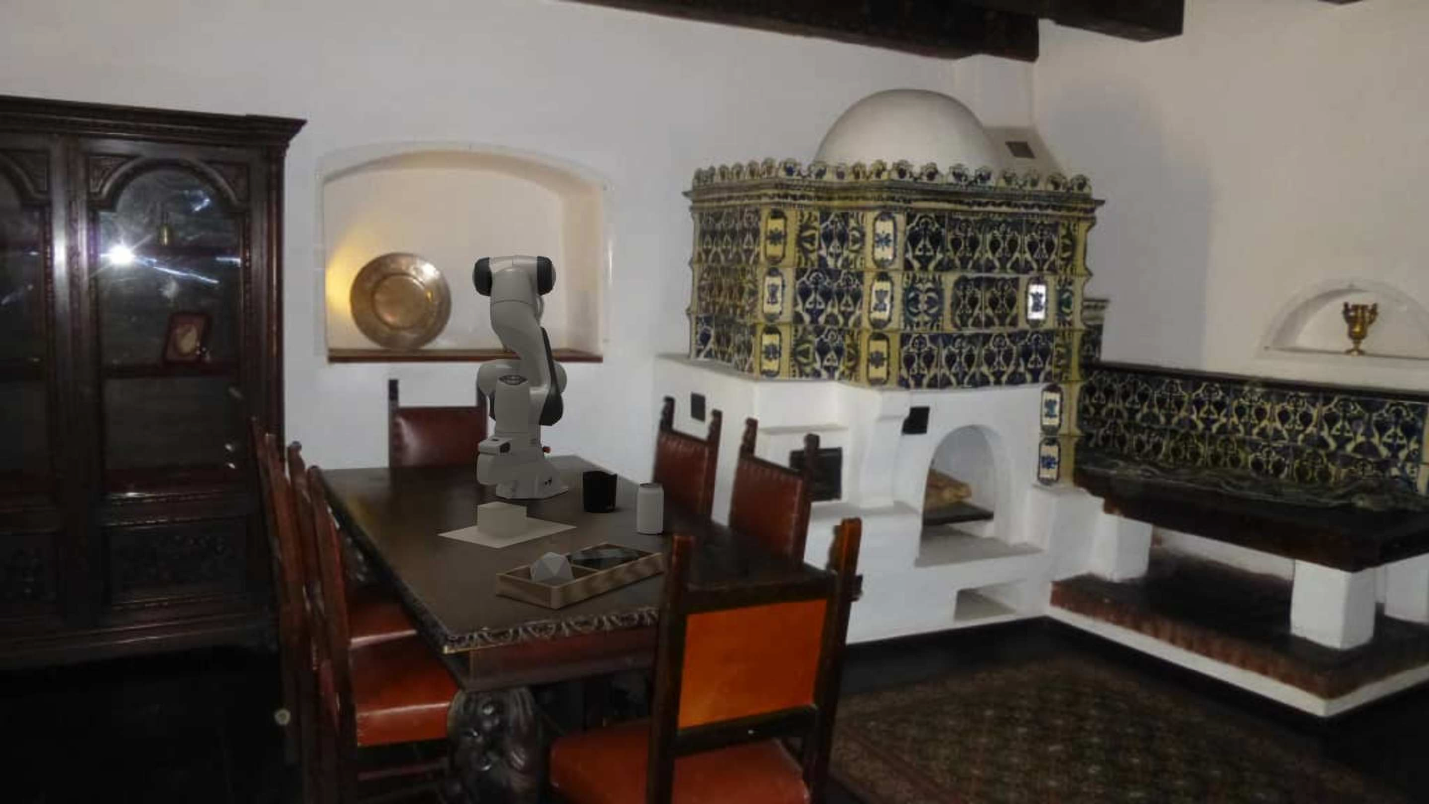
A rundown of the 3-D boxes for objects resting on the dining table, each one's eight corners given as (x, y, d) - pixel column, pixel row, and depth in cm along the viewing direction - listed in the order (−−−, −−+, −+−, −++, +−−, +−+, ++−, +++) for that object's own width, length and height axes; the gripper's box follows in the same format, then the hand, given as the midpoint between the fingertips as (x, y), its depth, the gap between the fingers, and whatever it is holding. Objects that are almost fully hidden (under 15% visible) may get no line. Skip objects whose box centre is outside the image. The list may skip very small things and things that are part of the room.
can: (666, 530, 271) (667, 483, 270) (656, 536, 265) (658, 488, 264) (642, 528, 273) (643, 481, 272) (632, 533, 267) (633, 485, 266)
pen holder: (583, 513, 287) (584, 477, 286) (580, 506, 297) (581, 470, 295) (618, 513, 289) (619, 476, 288) (614, 506, 299) (615, 470, 297)
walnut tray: (605, 559, 241) (605, 541, 241) (662, 571, 233) (662, 553, 232) (495, 593, 213) (495, 574, 212) (555, 609, 204) (556, 588, 204)
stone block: (568, 569, 231) (568, 546, 231) (631, 568, 235) (632, 545, 234) (572, 580, 223) (573, 557, 222) (638, 579, 226) (639, 556, 226)
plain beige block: (496, 501, 266) (477, 505, 261) (526, 507, 261) (507, 511, 255) (496, 527, 267) (477, 531, 262) (526, 533, 262) (507, 538, 256)
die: (541, 587, 220) (518, 555, 215) (578, 567, 220) (556, 535, 215) (546, 612, 213) (523, 580, 208) (585, 592, 213) (562, 559, 208)
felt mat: (518, 517, 281) (518, 515, 281) (577, 528, 270) (577, 526, 270) (437, 536, 257) (437, 534, 257) (497, 549, 247) (497, 548, 247)
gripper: (531, 436, 272) (531, 490, 274) (472, 445, 255) (472, 502, 257) (550, 439, 269) (549, 493, 270) (492, 448, 252) (491, 506, 253)
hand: (511, 497), depth 263 cm, fingers closed
